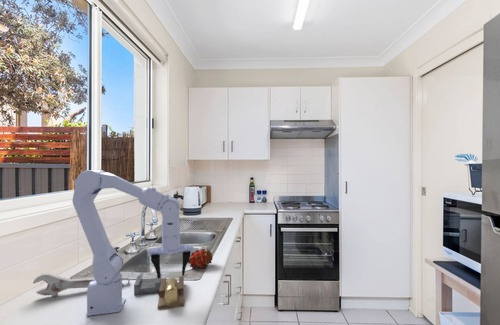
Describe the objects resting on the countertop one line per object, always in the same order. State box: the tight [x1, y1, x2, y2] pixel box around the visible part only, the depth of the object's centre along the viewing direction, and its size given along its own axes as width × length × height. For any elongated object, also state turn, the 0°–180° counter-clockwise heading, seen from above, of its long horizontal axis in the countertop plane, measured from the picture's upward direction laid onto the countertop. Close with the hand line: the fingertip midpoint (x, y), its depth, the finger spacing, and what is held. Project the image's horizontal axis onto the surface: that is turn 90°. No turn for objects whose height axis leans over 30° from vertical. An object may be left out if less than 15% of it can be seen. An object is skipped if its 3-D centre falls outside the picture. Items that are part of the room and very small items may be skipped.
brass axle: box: [164, 277, 178, 306], centre depth 91 cm, size 12×4×4 cm, turn 15°
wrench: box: [32, 272, 131, 298], centre depth 98 cm, size 8×2×30 cm
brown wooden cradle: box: [157, 275, 185, 310], centre depth 94 cm, size 8×16×3 cm, turn 14°
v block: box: [133, 273, 162, 296], centre depth 99 cm, size 8×8×4 cm
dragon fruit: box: [187, 247, 214, 269], centre depth 119 cm, size 8×8×12 cm
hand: (171, 275), depth 90 cm, fingers open, 7 cm apart
